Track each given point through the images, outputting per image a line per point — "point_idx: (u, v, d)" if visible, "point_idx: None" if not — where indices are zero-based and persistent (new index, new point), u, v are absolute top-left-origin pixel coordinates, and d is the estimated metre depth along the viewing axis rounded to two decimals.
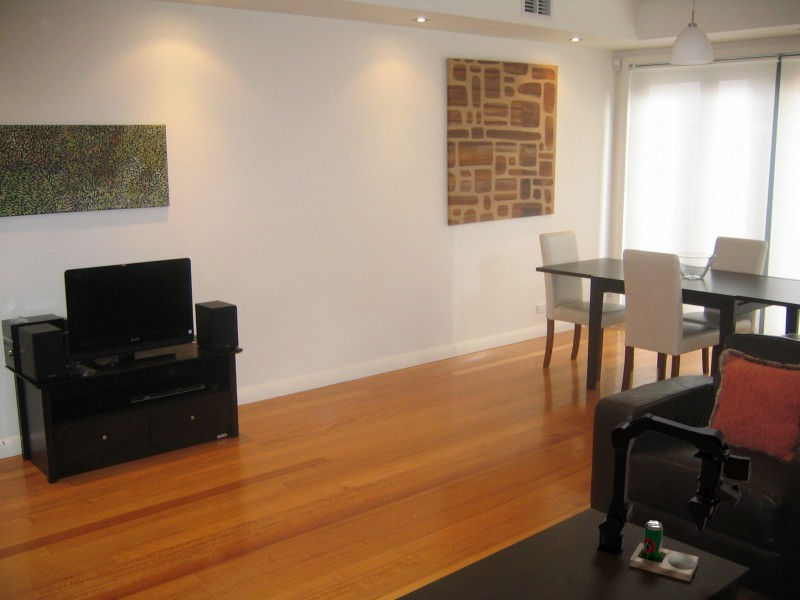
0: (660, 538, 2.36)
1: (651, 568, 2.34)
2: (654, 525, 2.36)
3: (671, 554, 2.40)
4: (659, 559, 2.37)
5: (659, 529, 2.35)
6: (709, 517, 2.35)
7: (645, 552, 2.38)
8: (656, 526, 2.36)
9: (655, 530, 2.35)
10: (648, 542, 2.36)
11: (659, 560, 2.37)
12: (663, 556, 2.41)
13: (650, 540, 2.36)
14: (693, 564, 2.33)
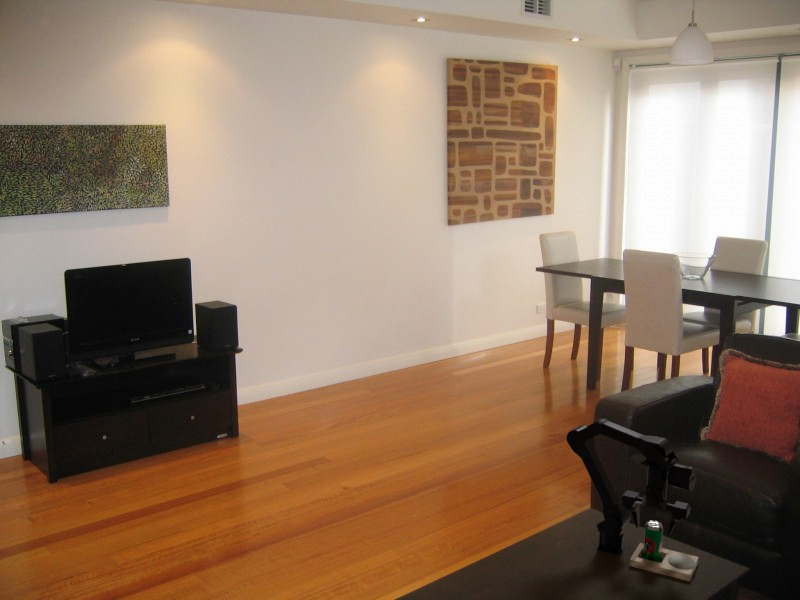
0: (660, 538, 2.36)
1: (651, 568, 2.34)
2: (654, 525, 2.36)
3: (671, 554, 2.40)
4: (659, 559, 2.37)
5: (659, 529, 2.35)
6: None
7: (645, 552, 2.38)
8: (656, 526, 2.36)
9: (655, 530, 2.35)
10: (648, 542, 2.36)
11: (659, 560, 2.37)
12: (663, 556, 2.41)
13: (650, 540, 2.36)
14: (693, 564, 2.33)
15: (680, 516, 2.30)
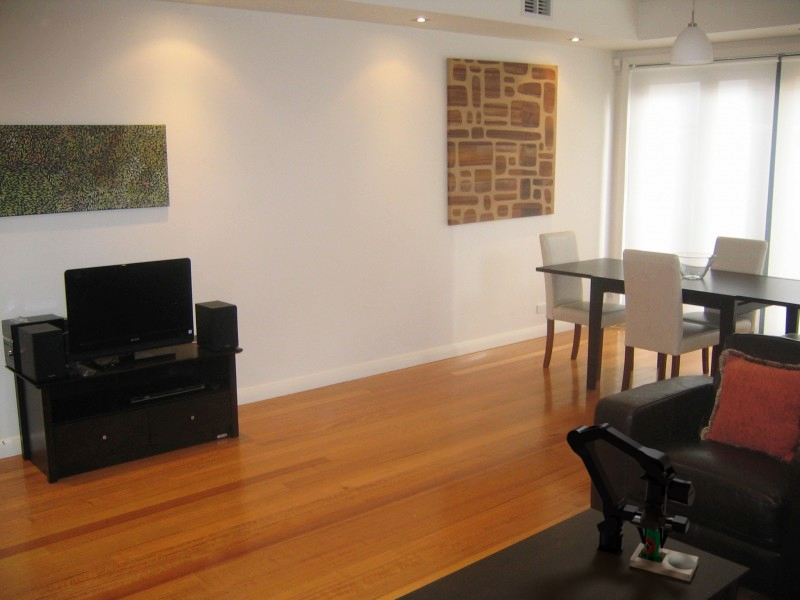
0: (660, 538, 2.36)
1: (651, 568, 2.34)
2: None
3: (671, 554, 2.40)
4: (659, 559, 2.37)
5: (659, 529, 2.35)
6: None
7: (645, 552, 2.38)
8: None
9: None
10: (648, 542, 2.36)
11: (659, 560, 2.37)
12: (663, 556, 2.41)
13: (651, 540, 2.36)
14: (693, 564, 2.33)
15: (679, 531, 2.31)
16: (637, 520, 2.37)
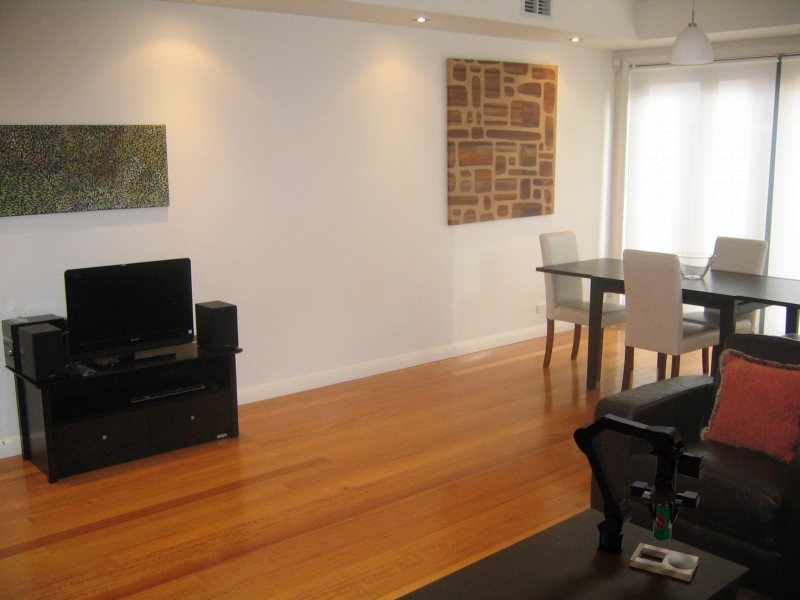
0: (670, 514, 2.33)
1: (651, 568, 2.34)
2: None
3: (671, 554, 2.40)
4: (669, 535, 2.34)
5: (669, 505, 2.33)
6: None
7: (655, 528, 2.35)
8: None
9: (665, 506, 2.32)
10: (658, 518, 2.34)
11: (669, 536, 2.35)
12: (663, 556, 2.41)
13: (660, 516, 2.33)
14: (693, 564, 2.33)
15: (690, 505, 2.28)
16: (647, 496, 2.35)
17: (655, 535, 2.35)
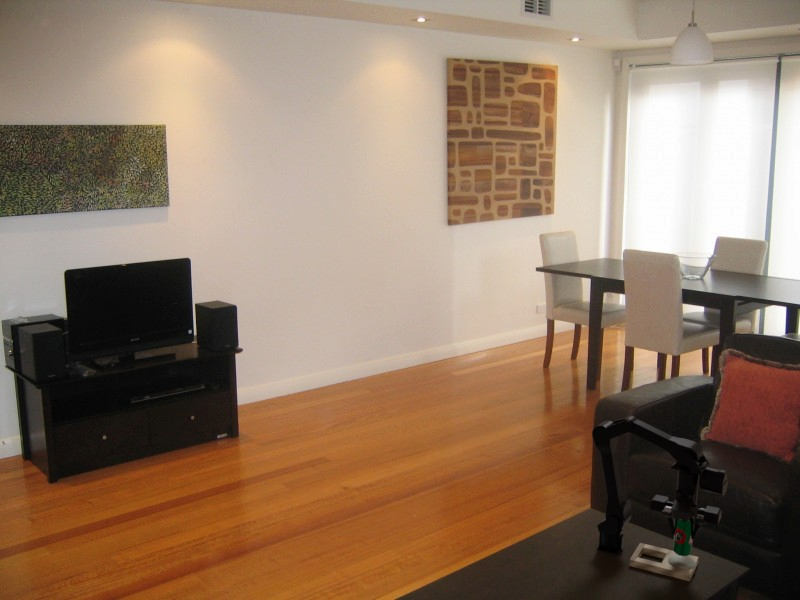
0: (691, 529, 2.31)
1: (651, 568, 2.34)
2: None
3: (671, 554, 2.40)
4: (690, 550, 2.32)
5: (690, 519, 2.30)
6: None
7: (675, 543, 2.33)
8: None
9: None
10: (679, 533, 2.31)
11: (690, 551, 2.32)
12: (663, 556, 2.41)
13: (681, 531, 2.31)
14: (693, 564, 2.33)
15: (712, 521, 2.25)
16: (668, 510, 2.32)
17: (675, 550, 2.33)
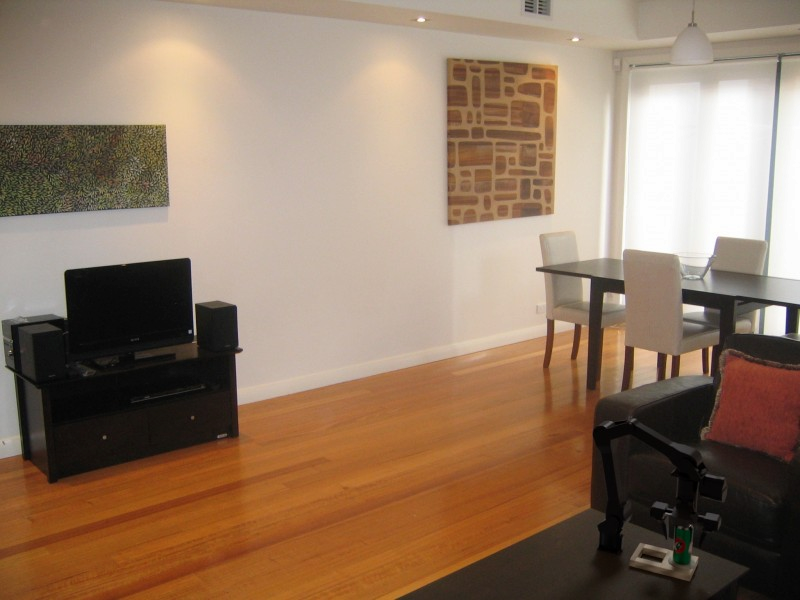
0: (690, 538, 2.31)
1: (651, 568, 2.34)
2: None
3: (671, 554, 2.40)
4: (689, 559, 2.33)
5: (690, 528, 2.31)
6: (699, 544, 2.32)
7: (675, 552, 2.33)
8: None
9: (685, 529, 2.30)
10: (679, 542, 2.32)
11: (689, 560, 2.33)
12: (663, 556, 2.41)
13: (681, 540, 2.31)
14: (693, 564, 2.33)
15: (711, 528, 2.26)
16: None
17: (675, 559, 2.33)
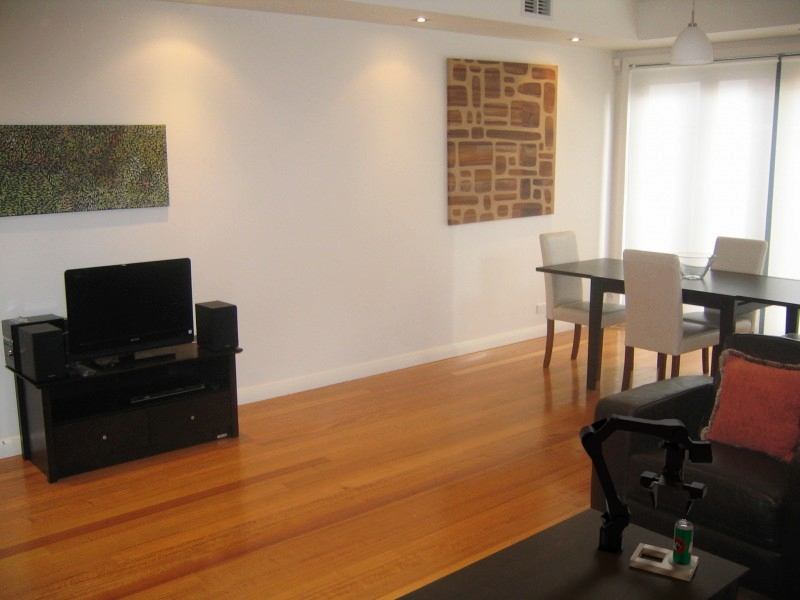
0: (690, 538, 2.31)
1: (651, 568, 2.34)
2: (684, 524, 2.32)
3: (671, 554, 2.40)
4: (689, 559, 2.33)
5: (690, 528, 2.31)
6: None
7: (675, 552, 2.33)
8: (686, 525, 2.31)
9: (685, 529, 2.30)
10: (679, 542, 2.32)
11: (689, 560, 2.33)
12: (663, 556, 2.41)
13: (681, 540, 2.31)
14: (693, 564, 2.33)
15: (696, 496, 2.35)
16: None
17: (675, 559, 2.33)
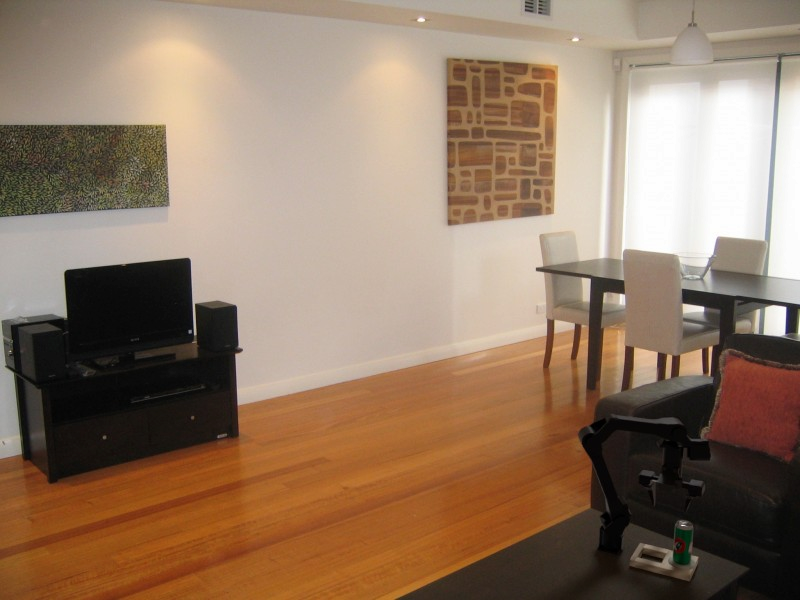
0: (690, 538, 2.31)
1: (651, 568, 2.34)
2: (684, 524, 2.32)
3: (671, 554, 2.40)
4: (689, 559, 2.33)
5: (690, 528, 2.31)
6: None
7: (675, 552, 2.33)
8: (686, 525, 2.31)
9: (685, 529, 2.30)
10: (679, 542, 2.32)
11: (689, 560, 2.33)
12: (663, 556, 2.41)
13: (681, 540, 2.31)
14: (693, 564, 2.33)
15: (695, 493, 2.37)
16: None
17: (675, 559, 2.33)
